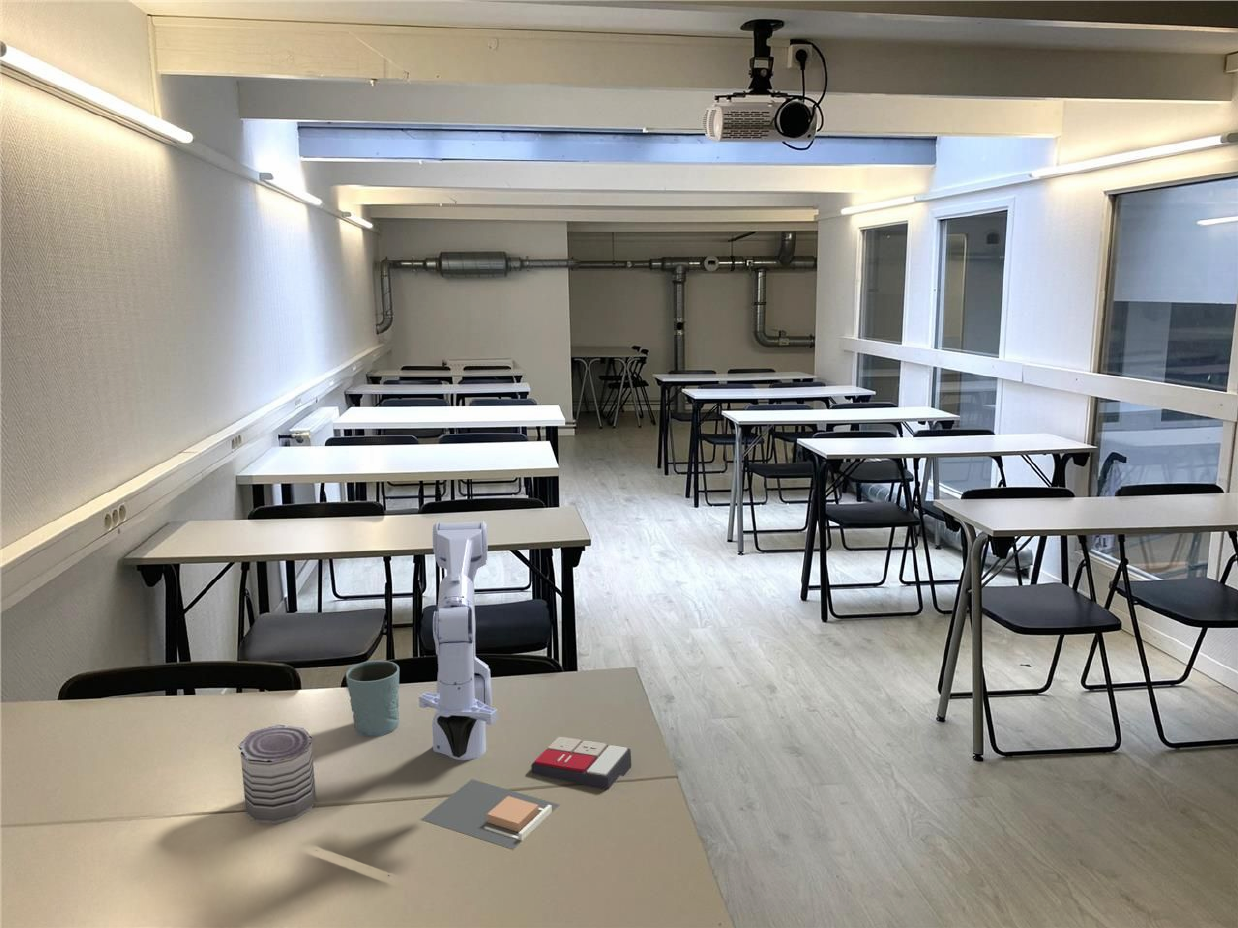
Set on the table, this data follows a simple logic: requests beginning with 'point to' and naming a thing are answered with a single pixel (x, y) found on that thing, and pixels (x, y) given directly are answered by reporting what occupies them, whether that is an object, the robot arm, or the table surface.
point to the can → (277, 773)
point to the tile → (512, 813)
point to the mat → (484, 813)
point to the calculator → (583, 762)
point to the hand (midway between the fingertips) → (459, 754)
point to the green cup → (374, 697)
